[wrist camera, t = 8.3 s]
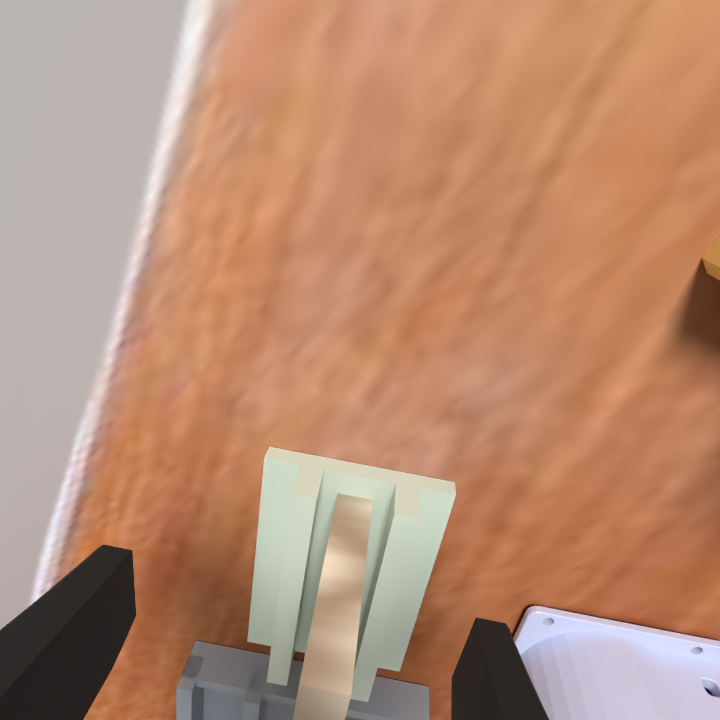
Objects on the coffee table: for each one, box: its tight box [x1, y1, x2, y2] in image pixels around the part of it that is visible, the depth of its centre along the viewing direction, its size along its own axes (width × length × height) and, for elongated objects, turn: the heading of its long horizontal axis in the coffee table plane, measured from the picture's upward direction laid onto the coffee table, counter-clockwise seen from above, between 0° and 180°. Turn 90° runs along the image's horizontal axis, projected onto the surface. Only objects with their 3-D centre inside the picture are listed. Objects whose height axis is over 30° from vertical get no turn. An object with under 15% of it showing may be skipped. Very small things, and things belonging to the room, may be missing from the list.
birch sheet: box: [293, 493, 373, 720], centre depth 20 cm, size 2×10×8 cm, turn 171°
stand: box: [247, 447, 456, 702], centre depth 23 cm, size 8×12×3 cm, turn 171°
